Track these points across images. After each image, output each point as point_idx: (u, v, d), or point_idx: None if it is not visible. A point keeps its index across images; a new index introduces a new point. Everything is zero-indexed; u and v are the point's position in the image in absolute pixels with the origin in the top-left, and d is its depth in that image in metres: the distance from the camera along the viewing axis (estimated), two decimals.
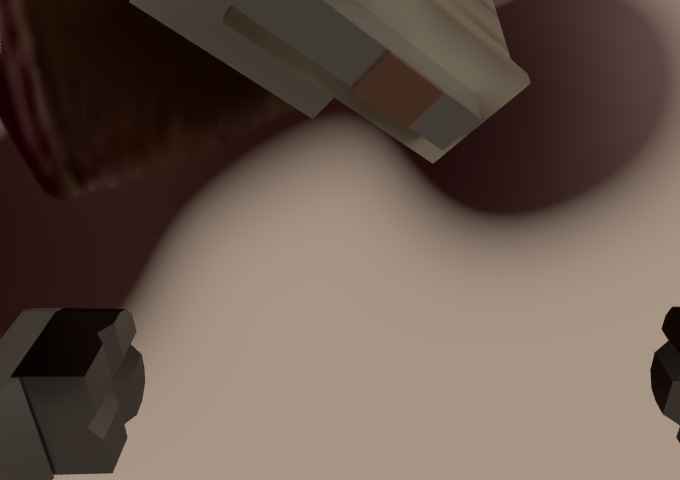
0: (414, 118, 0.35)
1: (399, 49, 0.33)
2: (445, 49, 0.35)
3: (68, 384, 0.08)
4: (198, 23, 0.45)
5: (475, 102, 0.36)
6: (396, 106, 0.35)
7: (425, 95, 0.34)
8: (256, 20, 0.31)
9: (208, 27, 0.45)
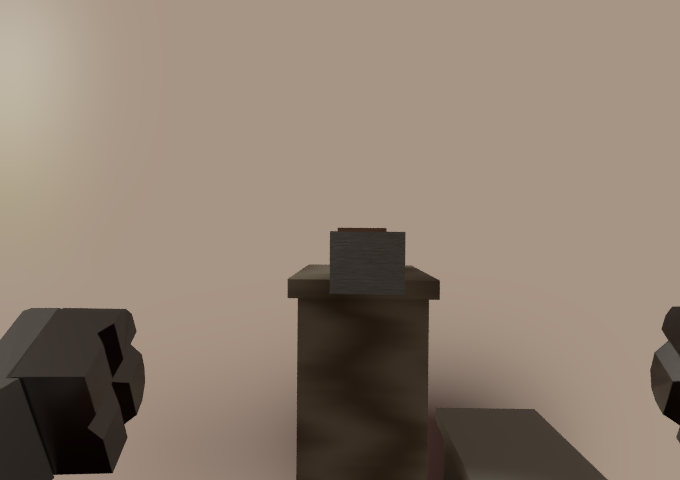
0: None
1: None
2: (326, 268, 0.44)
3: (70, 384, 0.08)
4: (565, 468, 0.34)
5: None
6: None
7: None
8: None
9: (557, 463, 0.34)
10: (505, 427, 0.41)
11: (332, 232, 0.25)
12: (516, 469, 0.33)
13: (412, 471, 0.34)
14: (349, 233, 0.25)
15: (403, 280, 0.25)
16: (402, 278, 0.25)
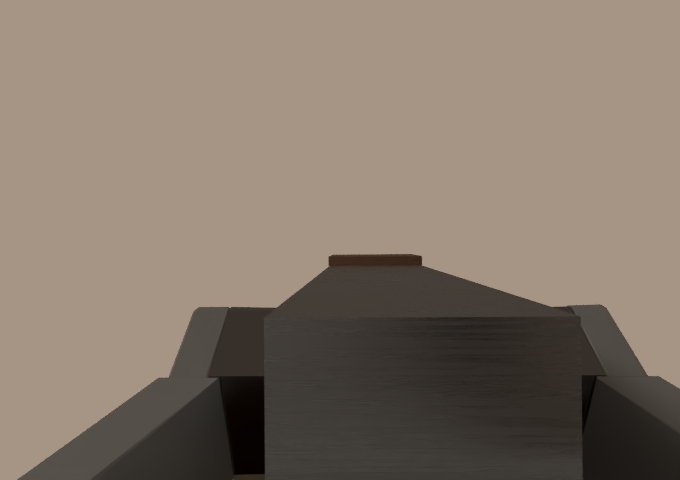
0: None
1: None
2: None
3: None
4: None
5: None
6: None
7: None
8: (443, 273, 0.15)
9: None
10: None
11: (273, 322, 0.06)
12: None
13: None
14: (345, 325, 0.06)
15: None
16: None
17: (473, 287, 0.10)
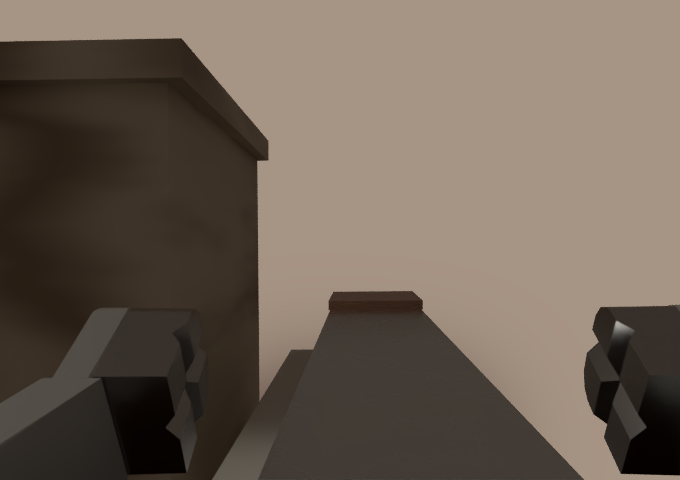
0: None
1: None
2: None
3: (151, 384, 0.08)
4: None
5: None
6: (392, 294, 0.23)
7: (351, 293, 0.24)
8: (443, 337, 0.15)
9: None
10: None
11: None
12: None
13: None
14: None
15: None
16: None
17: (473, 382, 0.10)
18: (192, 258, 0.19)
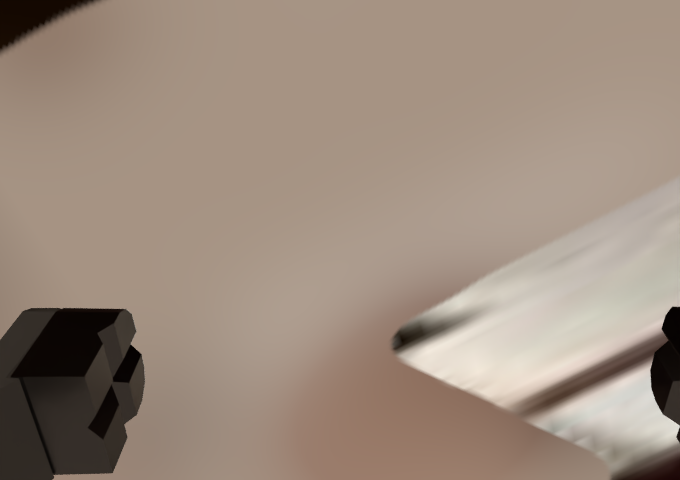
0: None
1: None
2: None
3: (68, 384, 0.08)
4: None
5: None
6: None
7: None
8: None
9: None
10: None
11: None
12: None
13: None
14: None
15: None
16: None
17: None
18: None
